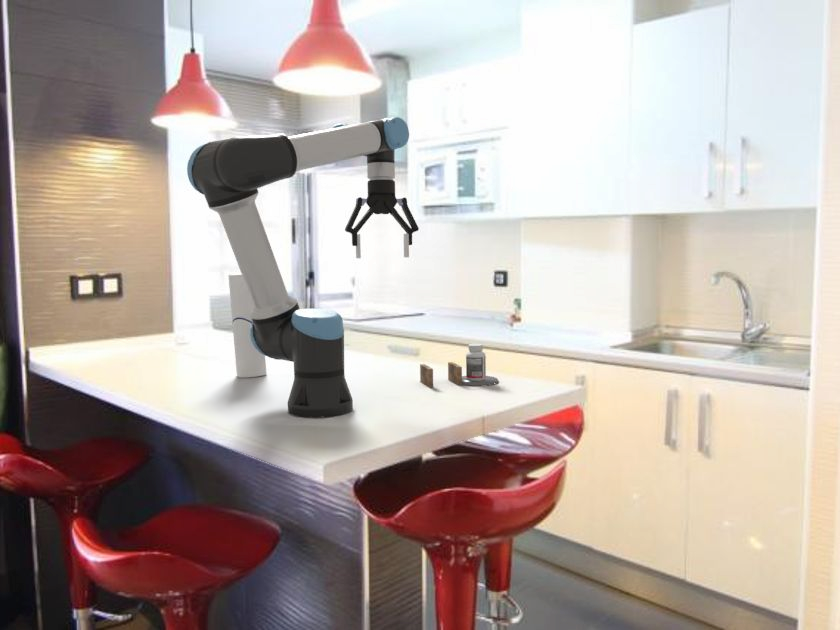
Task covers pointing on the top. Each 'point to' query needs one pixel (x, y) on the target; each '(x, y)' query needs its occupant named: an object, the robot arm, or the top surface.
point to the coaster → (479, 383)
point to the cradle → (453, 374)
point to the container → (244, 330)
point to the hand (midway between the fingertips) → (382, 257)
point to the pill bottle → (475, 363)
